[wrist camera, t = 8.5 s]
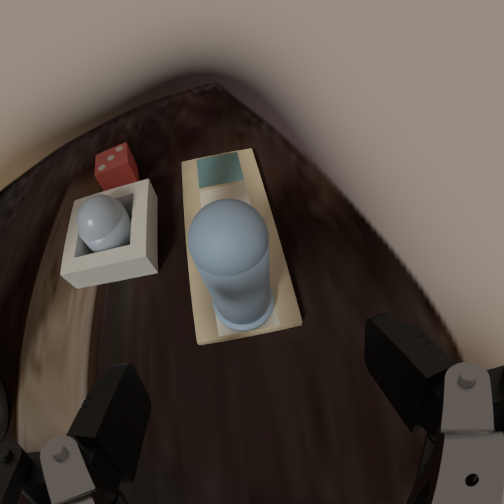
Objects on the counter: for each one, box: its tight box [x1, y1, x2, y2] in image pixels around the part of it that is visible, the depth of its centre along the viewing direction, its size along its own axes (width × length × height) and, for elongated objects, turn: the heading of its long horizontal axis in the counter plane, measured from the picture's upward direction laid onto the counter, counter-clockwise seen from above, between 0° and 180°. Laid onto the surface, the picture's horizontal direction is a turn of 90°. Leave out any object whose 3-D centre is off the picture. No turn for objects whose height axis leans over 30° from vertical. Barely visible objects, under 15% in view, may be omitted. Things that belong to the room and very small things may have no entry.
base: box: [60, 179, 158, 289], centre depth 25 cm, size 9×9×3 cm
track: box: [182, 148, 302, 345], centre depth 26 cm, size 8×20×1 cm, turn 11°
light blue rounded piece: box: [77, 194, 131, 253], centre depth 24 cm, size 5×5×6 cm
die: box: [95, 142, 139, 191], centre depth 29 cm, size 4×4×4 cm
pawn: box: [188, 199, 274, 332], centre depth 17 cm, size 5×5×11 cm
